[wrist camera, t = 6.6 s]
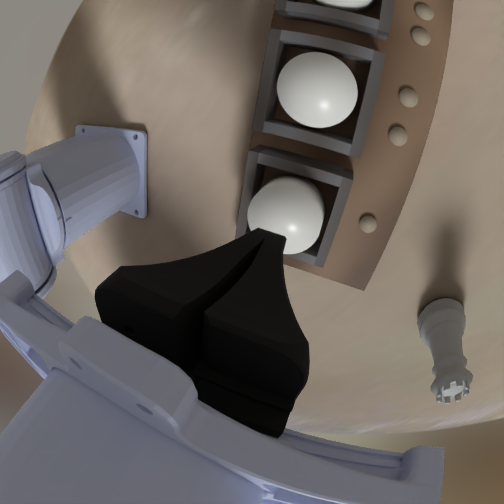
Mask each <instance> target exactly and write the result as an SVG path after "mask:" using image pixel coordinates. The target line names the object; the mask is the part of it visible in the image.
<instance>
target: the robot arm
mask: <svg viewBox="0 0 504 504" xmlns="http://www.w3.org/2000/svg"><path fill="white" fill-rule="evenodd" d="M136 134H137V136H138V138H137V137H136ZM118 211H121V212H124V213H127V214H130V215H133V216H135V217H138V218H141V219H143V218H145V217H146V216H147V134H146V132H145V131H141V130H133V129H124V128H114V127H104V126H92V125H77V126H76V128H75V136H73V137H70V138H67V139H64V140H61V141H59V142H56V143H53V144H51V145H48V146H46V147H43V148H41V149H38V150H36V151H33V152H31V153H30V154H28V155H27V156H25V155H24V154H20V153H19V152H17V151H11V152H7V153H4V154H1V155H0V329H1V331H2V333H3V334H4V336H5V337H6V338H7V339H8V340H9V341H10V343H11V344H12V345H13V346H14V347H15V348H16V349H17V350H18V352H19V353H20V354H21V355H22V356H23V357H24V358H25V359H26V361H27V362H28V363H29V364H30V365H31V366H32V367H33V368H34V369H35V370H36V371H37V372H38V373H39V374H40V375H41V376H42V377H43V378H44V379H45V380H44V381H43V382H42V383H41V384H40V386H39V387H38V388H37V389H36V390H35V391H34V393H33V394H32V395H31V397H30V398H29V399H28V400H27V401H26V403H25V404H24V405H23V406H22V408H21V409H20V410H19V411H18V413H17V414H16V415H15V416H14V418H13V419H12V420H11V422H10V423H9V424H8V426H7V427H6V428H5V429H4V431H3V432H2V434H1V435H0V504H439V503H440V496H441V488H442V479H443V466H444V448H443V447H431V446H417V447H413V448H411V449H409V450H407V451H406V452H405V453H398V452H390V451H383V450H376V449H370V448H364V447H359V446H354V445H349V444H344V443H339V442H335V441H330V440H326V439H322V438H318V437H314V436H311V435H307V434H303V433H300V432H296V431H293V430H290V429H286V428H285V426H286V423H287V420H288V417H289V414H290V412H291V411H292V409H293V406H294V403H295V400H296V398H297V397H298V395H299V394H300V392H301V391H302V390H303V388H304V387H305V385H306V383H307V380H308V375H309V363H310V359H309V343H308V341H307V339H306V338H305V336H304V334H303V332H302V330H301V328H300V326H299V324H298V322H297V320H296V317H295V315H294V312H293V309H292V307H291V304H290V301H289V297H288V293H287V289H286V284H285V278H284V269H283V252H284V248H285V244H286V240H287V239H286V237H285V236H283V235H280V234H277V233H274V232H271V231H267V230H264V229H261V228H256V229H254V230H252V231H250V232H248V233H247V234H245V235H243V236H241V237H239V238H237V239H235V240H233V241H231V242H229V243H227V244H225V245H223V246H220V247H218V248H216V249H214V250H211V251H208V252H206V253H203V254H200V255H196V256H193V257H190V258H185V259H181V260H176V261H172V262H166V263H160V264H152V265H140V266H120V267H119V268H118V269H117V270H116V271H115V272H113V273H112V274H111V275H110V276H109V277H108V278H107V279H106V280H104V281H103V282H102V283H101V284H100V285H99V286H98V287H97V289H96V290H95V301H96V306H97V309H98V312H99V315H100V318H101V321H102V322H100V321H98V320H96V319H93V318H91V317H88V316H84V317H83V318H81V319H80V320H79V321H78V322H77V323H76V324H74V323H73V322H71V321H70V320H69V319H67V318H66V317H64V316H63V315H61V314H60V313H59V312H58V311H56V310H55V309H54V308H53V307H51V306H50V305H49V304H48V303H46V302H45V301H44V300H43V298H44V297H45V296H46V295H47V293H48V292H49V290H50V289H51V287H52V286H53V284H54V282H55V280H56V276H57V270H56V265H57V264H58V263H60V262H61V261H62V260H64V259H65V257H64V253H63V249H64V248H65V247H67V246H68V245H70V244H71V243H72V242H74V241H75V240H76V239H78V238H79V237H81V236H82V235H84V234H85V233H86V232H88V231H89V230H91V229H92V228H94V227H95V226H97V225H98V224H100V223H101V222H103V221H104V220H106V219H107V218H109V217H110V216H112V215H113V214H115V213H116V212H118ZM137 211H138V212H139V213H138V212H137Z"/></svg>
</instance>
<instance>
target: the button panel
mask: <svg viewBox="0 0 504 504" xmlns="http://www.w3.org/2000/svg"><path fill="white" fill-rule="evenodd" d="M452 11H453V0H375V2H374V3H373V5H372V6H371V7H370V8H368V9H367V10H365V11H363V12H361V13H357V14H356V13H352V12H348V11H344V10H339V9H334V8H329V7H324V6H318V5H317V4H315V3H314V2H313V1H312V0H275V5H274V14H273V19H272V25H271V29H270V31H269V36H268V42H267V47H266V52H265V58H264V63H263V69H262V75H261V80H260V86H259V92H258V97H257V103H256V109H255V115H254V121H253V127H252V130H253V131H252V137H251V143H250V150H249V151H248V157H247V164H246V170H245V176H244V183H243V189H242V196H241V202H240V209H239V215H238V222H237V229H236V235H235V239H237V238H239V237H241V236H243V235H245V234H247V233H248V232H250V231H251V230H250V227H249V224H248V217H247V214H248V208H249V205H250V202H251V200H252V199H253V197H254V196H255V195H256V194H257V193H258V192H259V191H260V190H261V189H262V188H263V187H264V186H265V185H266V184H267V183H268V182H269V181H270V180H272V179H273V178H275V177H277V176H281V175H288V174H291V175H297V176H301V177H303V178H305V179H307V180H309V181H310V182H312V183H313V184H314V185H315V186H316V187H317V188H318V189H319V191H320V192H321V194H322V196H323V199H324V202H325V216H324V220H323V223H322V227H321V230H320V234H319V236H318V238H317V240H316V241H315V243H314V244H313V245H312V246H311V247H309V248H308V249H306V250H305V251H303V252H300V253H296V254H283V264H286V265H289V266H292V267H295V268H298V269H301V270H304V271H307V272H310V273H312V274H315V275H318V276H321V277H324V278H327V279H330V280H333V281H336V282H339V283H342V284H345V285H348V286H351V287H354V288H357V289H360V290H363V291H364V290H365V288H366V286H367V284H368V282H369V280H370V278H371V276H372V274H373V272H374V270H375V268H376V266H377V264H378V262H379V260H380V258H381V256H382V254H383V251H384V249H385V247H386V245H387V243H388V240H389V238H390V236H391V234H392V231H393V229H394V227H395V225H396V222H397V220H398V217H399V215H400V213H401V210H402V208H403V205H404V203H405V200H406V198H407V195H408V192H409V190H410V187H411V184H412V182H413V179H414V176H415V173H416V170H417V168H418V165H419V162H420V159H421V156H422V153H423V150H424V146H425V143H426V140H427V137H428V133H429V130H430V126H431V123H432V119H433V116H434V112H435V108H436V104H437V100H438V96H439V92H440V87H441V83H442V78H443V73H444V68H445V63H446V57H447V51H448V45H449V38H450V30H451V22H452ZM309 52H320V53H325V54H329V55H331V56H334V57H336V58H337V59H339V60H340V61H342V62H343V63H344V64H345V65H346V66H347V67H348V68H349V69H350V71H351V72H352V74H353V76H354V78H355V80H356V84H357V90H358V95H357V101H356V104H355V107H354V109H353V110H352V112H351V113H350V115H349V116H348V117H347V118H346V119H344V120H343V121H342V122H340V123H338V124H336V125H333V126H330V127H325V128H316V127H310V126H306V125H303V124H301V123H299V122H297V121H296V120H294V119H293V118H292V117H290V116H289V115H288V114H287V112H286V111H285V110H284V108H283V107H282V105H281V103H280V101H279V98H278V94H277V81H278V77H279V75H280V72H281V70H282V69H283V67H284V66H285V65H286V64H287V63H288V62H289V61H290V60H291V59H293V58H294V57H296V56H298V55H301V54H304V53H309Z"/></svg>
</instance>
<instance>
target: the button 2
mask: <svg viewBox="0 0 504 504" xmlns="http://www.w3.org/2000/svg"><path fill="white" fill-rule="evenodd" d="M312 1H313V2H314V3H315V4H317V5H318V6H324V7H329V8H334V9H339V10H344V11H348V12H352V13H356V14H357V13H361V12H363V11H365V10H367V9H368V8H370V7H371V6H372V5H373V3H374V2H375V0H312Z"/></svg>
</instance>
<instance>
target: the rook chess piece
mask: <svg viewBox="0 0 504 504" xmlns="http://www.w3.org/2000/svg"><path fill="white" fill-rule="evenodd" d="M417 324H418V329H419V333H420V337H421V339H422V340H423V341H424V342H425V344H426V345H427V346H428V347H429V348H430V350H431V353H432V356H433V360H434V367H433V369H432V372H433V374H434V375H435V376H436V378H435V380H434V382H433V383H432V385H431V392H432V393H434V394H435V395H436V401H437V402H438V403H440V402H442V399H443V403H444V404H450V398H453V397H455V402H457V401H460V400H462V398H461V394H462V393H463V396H467V394H468V393H469V389H470V387H469V385H470V383H471V381H472V378H473V375H472V373H471V372H470V371H469V370H467V369H466V368H465V366H466V364H467V359H466V358H465V356H463V351H462V336H463V334H464V329H465V326H466V318H465V315H464V308H463V306H462V305H461V303H460V302H458V301H456V300H454V299H450V298H441V299H438V300H435V301H433V302H431V303H430V304H428V305H427V306H426V307H425V309H424V310H423V311H422V312H421V314H420V315H419V318H418V321H417Z"/></svg>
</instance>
